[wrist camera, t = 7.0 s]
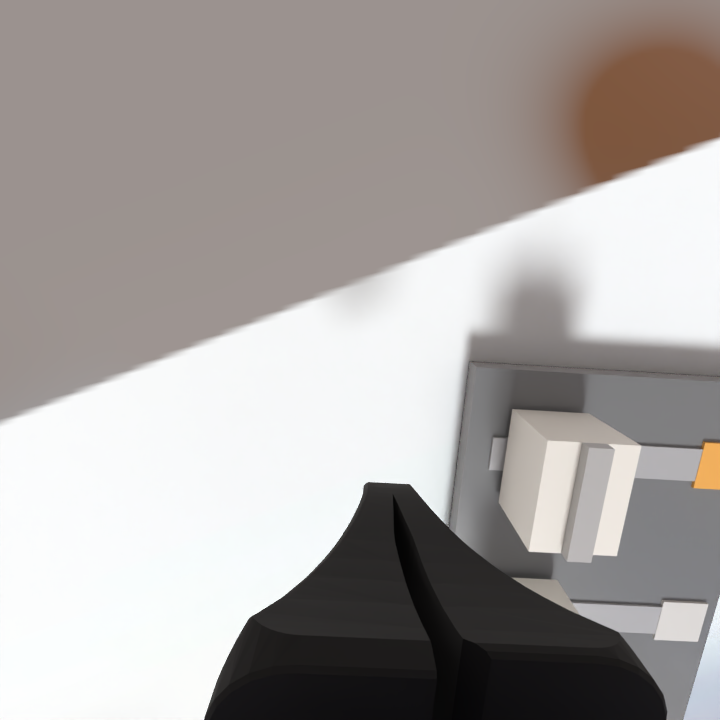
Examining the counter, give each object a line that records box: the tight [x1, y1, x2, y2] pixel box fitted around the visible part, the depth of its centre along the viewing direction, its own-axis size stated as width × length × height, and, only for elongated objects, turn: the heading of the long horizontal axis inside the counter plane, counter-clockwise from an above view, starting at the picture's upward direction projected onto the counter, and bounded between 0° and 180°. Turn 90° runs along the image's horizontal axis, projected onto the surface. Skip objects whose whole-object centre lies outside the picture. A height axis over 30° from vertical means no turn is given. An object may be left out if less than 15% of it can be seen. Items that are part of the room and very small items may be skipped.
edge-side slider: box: [499, 409, 641, 563], centre depth 15 cm, size 3×4×3 cm
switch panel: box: [449, 362, 720, 720], centre depth 19 cm, size 12×22×1 cm, turn 176°
